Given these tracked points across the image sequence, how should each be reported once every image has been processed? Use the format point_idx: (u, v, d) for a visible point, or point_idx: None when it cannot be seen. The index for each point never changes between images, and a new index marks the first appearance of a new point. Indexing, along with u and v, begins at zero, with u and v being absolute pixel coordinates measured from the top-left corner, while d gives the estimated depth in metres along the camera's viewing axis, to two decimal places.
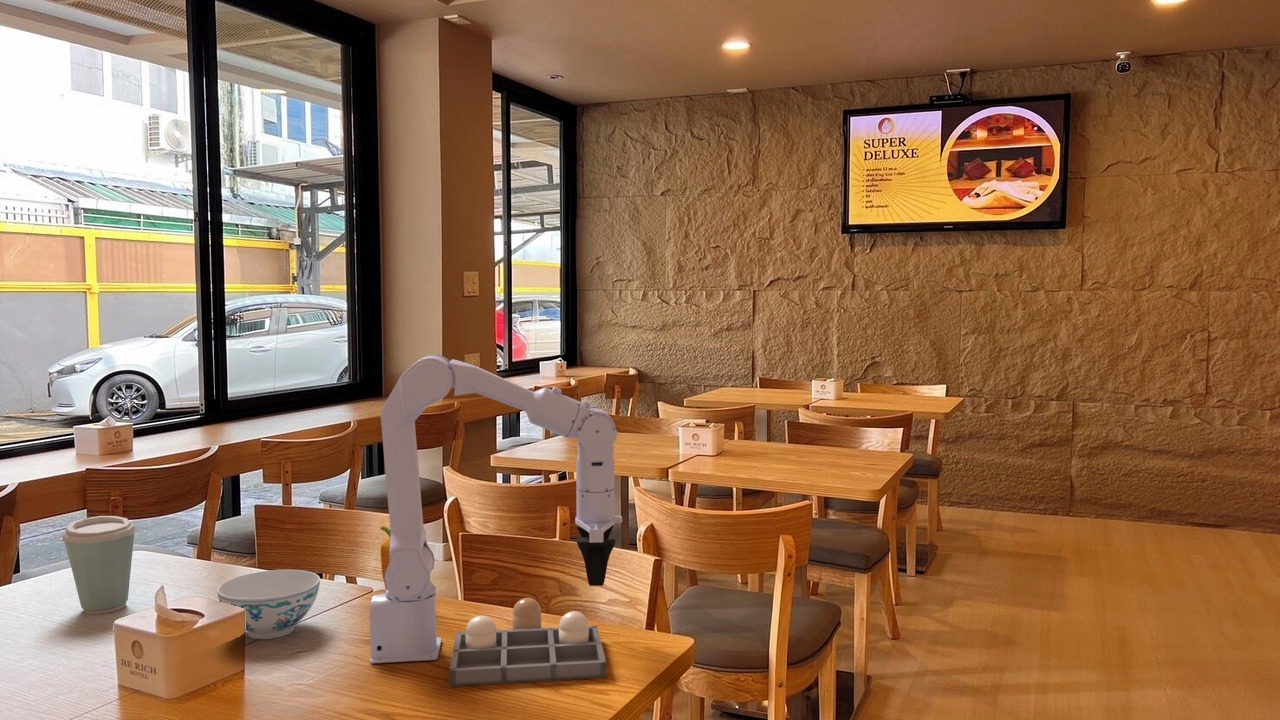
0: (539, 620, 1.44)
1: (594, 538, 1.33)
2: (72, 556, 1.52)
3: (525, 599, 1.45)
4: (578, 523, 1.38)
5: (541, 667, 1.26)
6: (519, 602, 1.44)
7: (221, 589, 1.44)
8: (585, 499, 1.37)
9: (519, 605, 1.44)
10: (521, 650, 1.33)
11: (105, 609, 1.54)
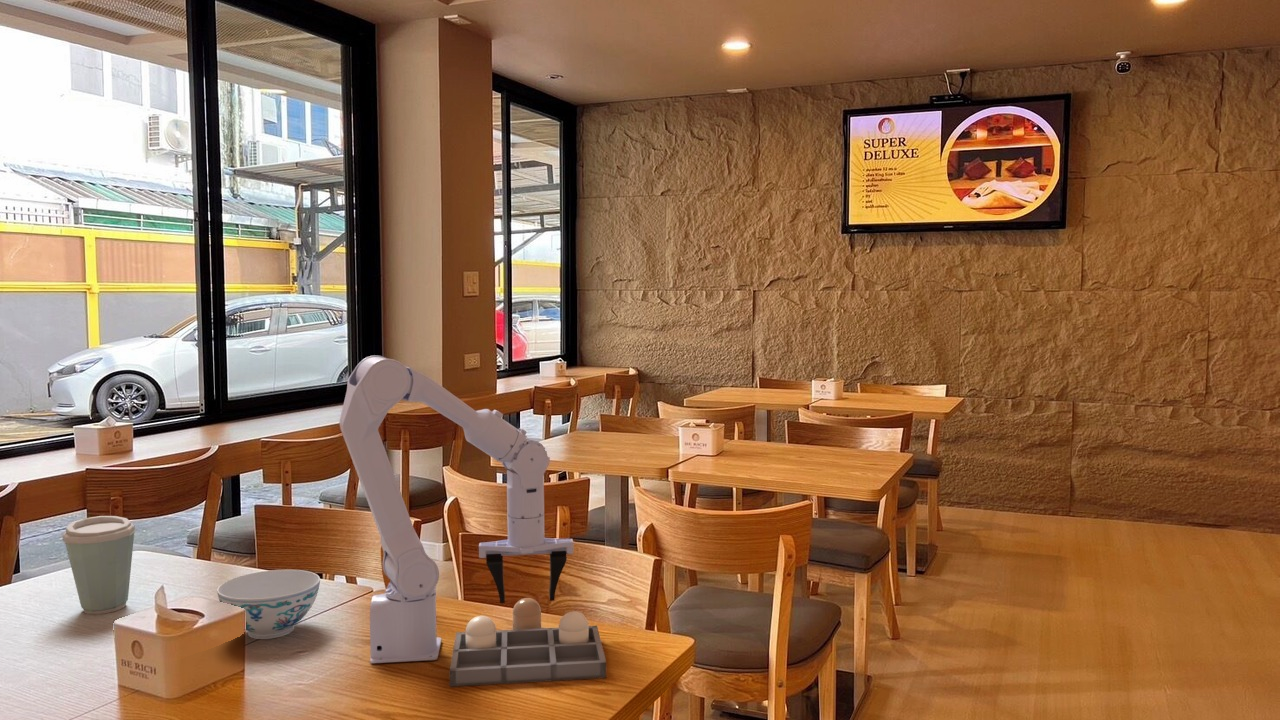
0: (539, 620, 1.44)
1: None
2: (72, 556, 1.52)
3: (525, 599, 1.45)
4: None
5: (541, 667, 1.26)
6: (519, 602, 1.44)
7: (221, 589, 1.44)
8: None
9: (519, 605, 1.44)
10: (521, 650, 1.33)
11: (105, 609, 1.54)
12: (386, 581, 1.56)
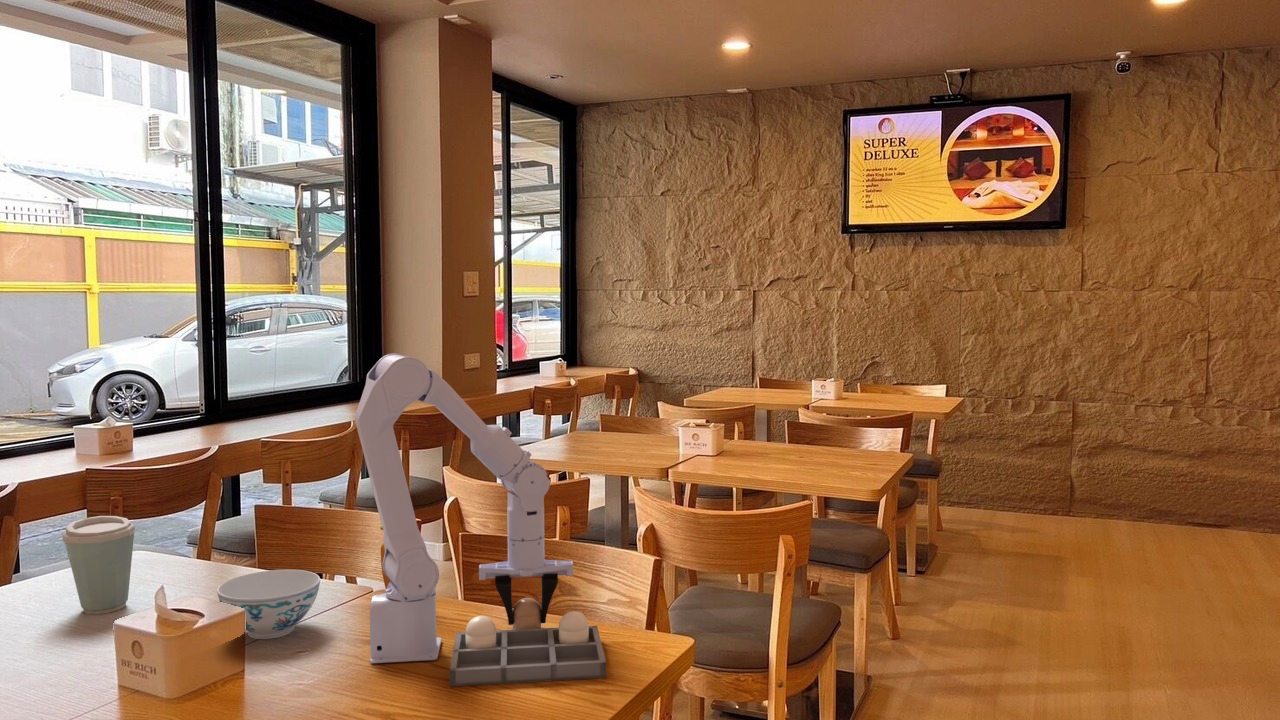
0: (539, 620, 1.44)
1: None
2: (72, 556, 1.52)
3: (525, 599, 1.45)
4: None
5: (541, 667, 1.26)
6: (519, 602, 1.44)
7: (221, 589, 1.44)
8: None
9: (519, 605, 1.44)
10: (521, 650, 1.33)
11: (105, 609, 1.54)
12: (386, 581, 1.56)
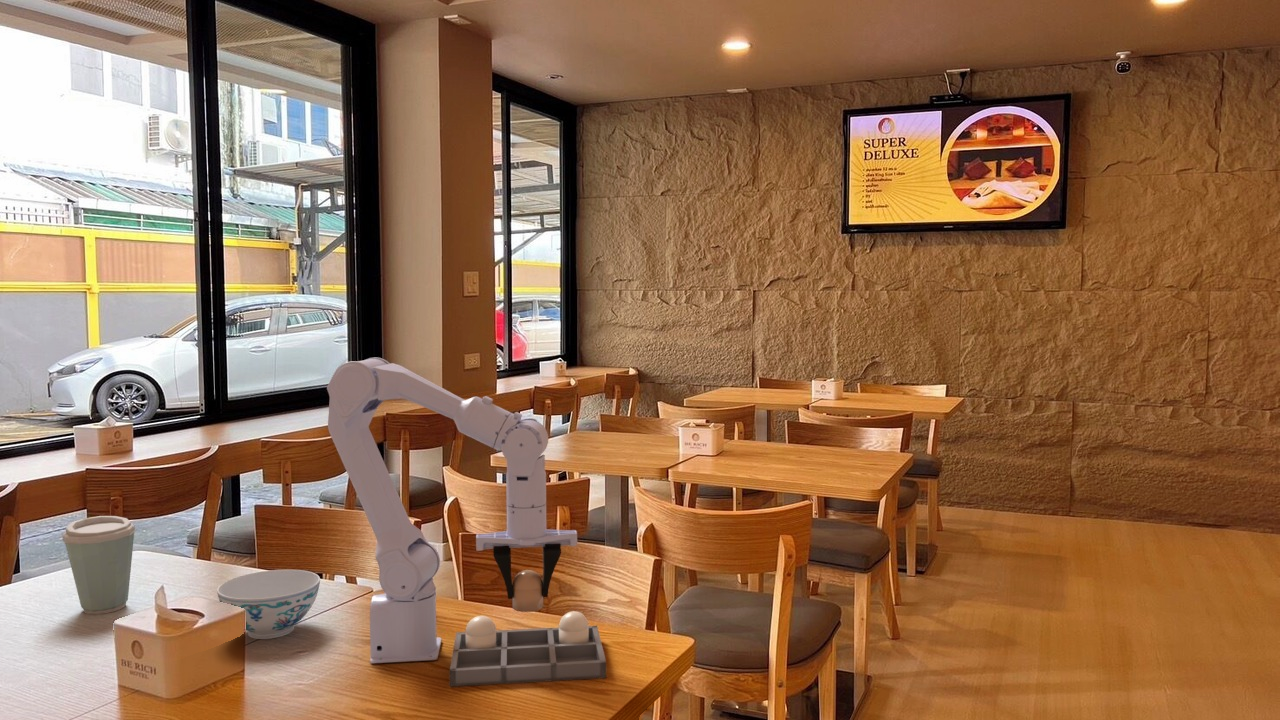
0: (541, 593, 1.34)
1: None
2: (72, 556, 1.52)
3: (526, 571, 1.35)
4: None
5: (541, 667, 1.26)
6: (519, 574, 1.34)
7: (221, 589, 1.44)
8: None
9: (519, 577, 1.34)
10: (521, 650, 1.33)
11: (105, 609, 1.54)
12: None
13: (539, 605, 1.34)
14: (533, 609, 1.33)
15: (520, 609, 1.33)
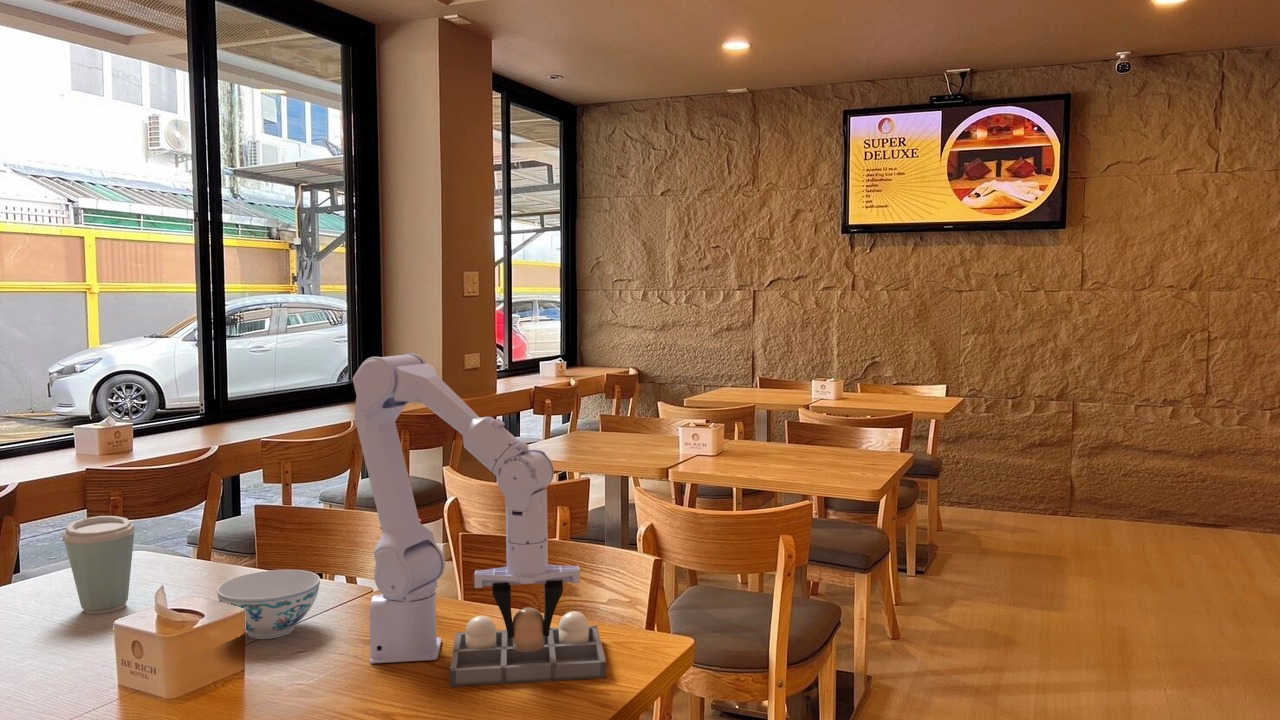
0: (542, 632, 1.29)
1: None
2: (72, 556, 1.52)
3: (526, 609, 1.29)
4: None
5: (541, 667, 1.26)
6: (519, 612, 1.29)
7: (221, 589, 1.44)
8: None
9: (519, 616, 1.28)
10: None
11: (105, 609, 1.54)
12: None
13: (540, 645, 1.29)
14: (534, 649, 1.28)
15: (520, 649, 1.28)
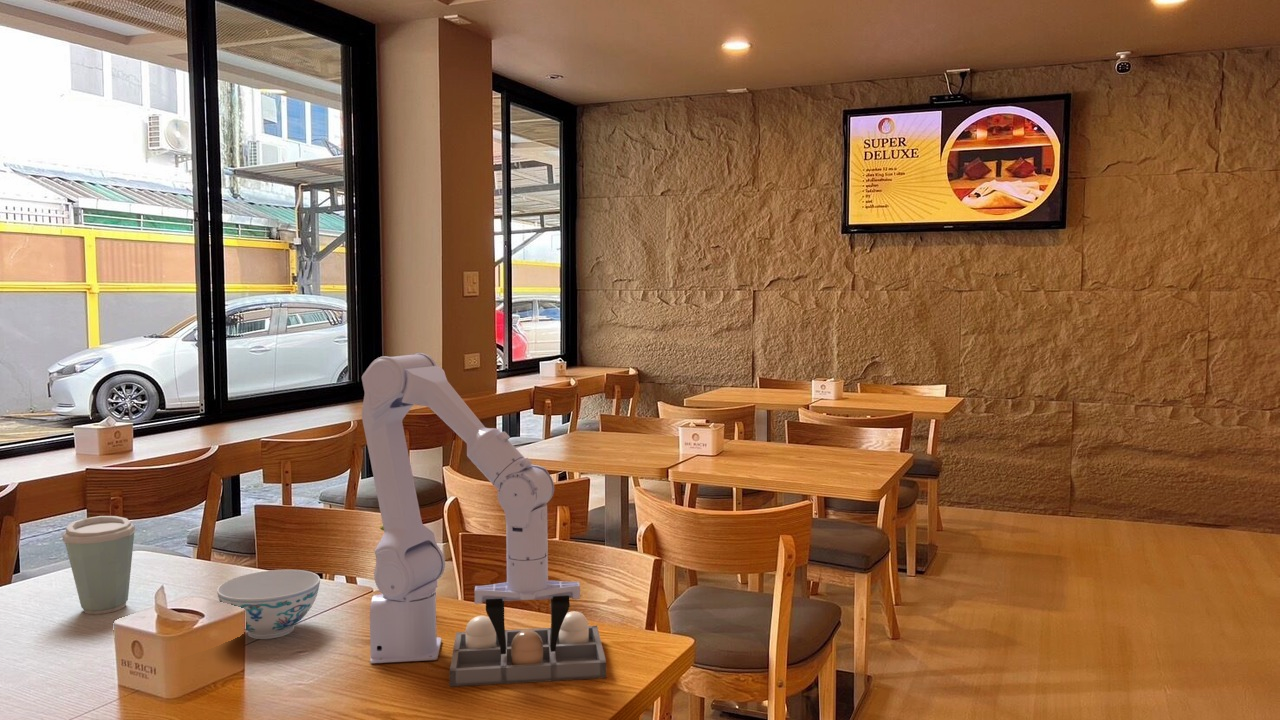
0: (541, 655, 1.29)
1: None
2: (72, 556, 1.52)
3: (525, 631, 1.29)
4: None
5: (541, 667, 1.26)
6: (518, 635, 1.29)
7: (221, 589, 1.44)
8: None
9: (518, 638, 1.29)
10: None
11: (105, 609, 1.54)
12: None
13: None
14: None
15: None
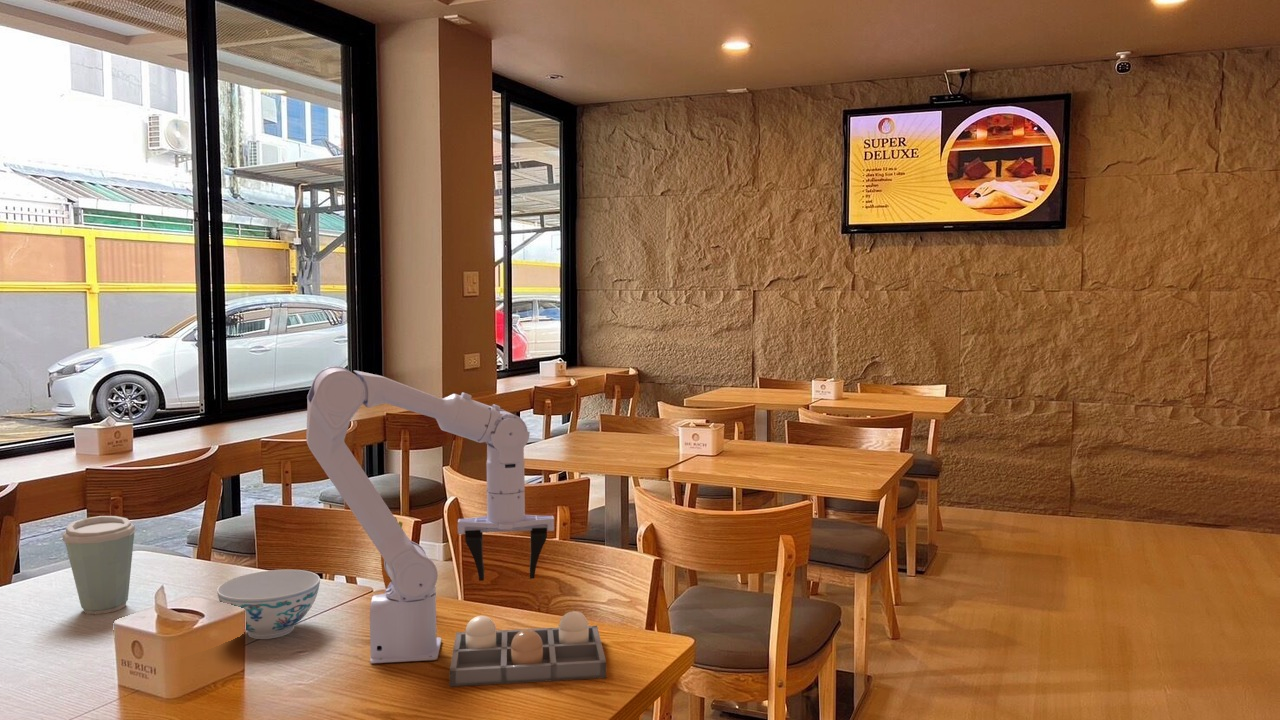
0: (540, 655, 1.29)
1: None
2: (72, 556, 1.52)
3: (525, 631, 1.29)
4: None
5: (541, 667, 1.26)
6: (518, 635, 1.29)
7: (221, 589, 1.44)
8: None
9: (518, 638, 1.28)
10: None
11: (105, 609, 1.54)
12: (386, 581, 1.56)
13: None
14: None
15: None
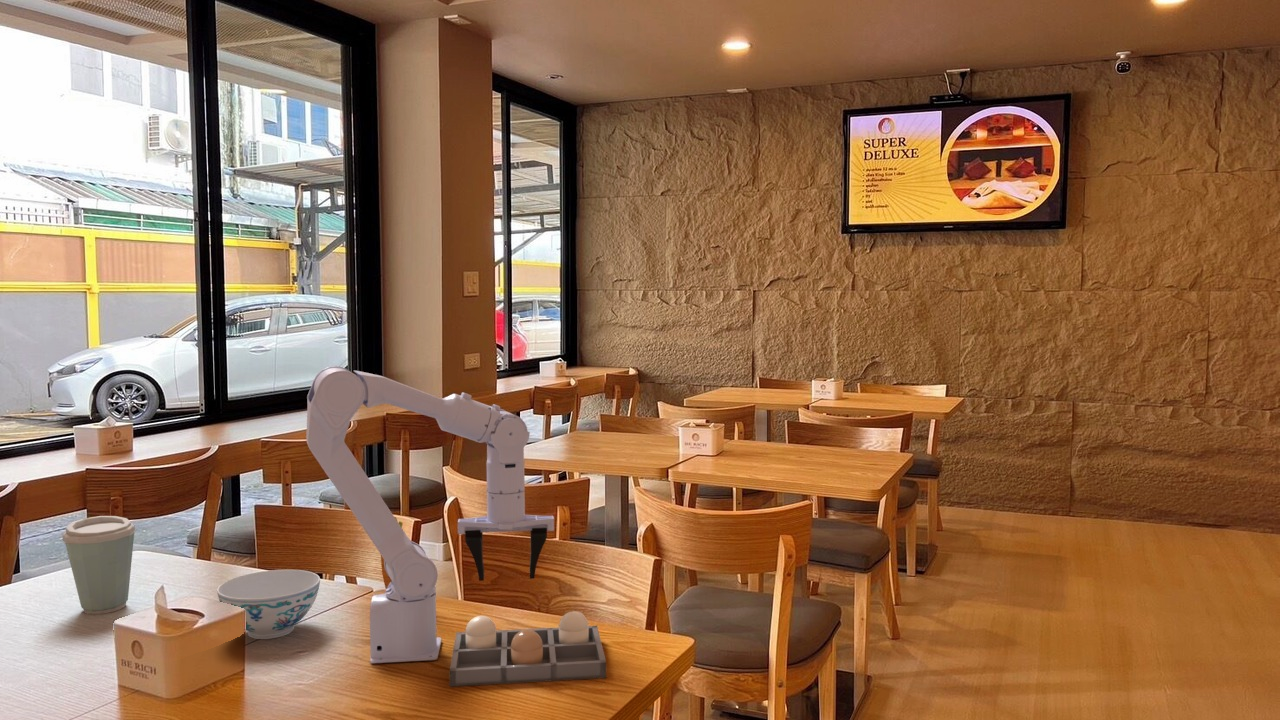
0: (540, 655, 1.29)
1: None
2: (72, 556, 1.52)
3: (524, 631, 1.29)
4: None
5: (541, 667, 1.26)
6: (518, 635, 1.29)
7: (221, 589, 1.44)
8: None
9: (518, 638, 1.29)
10: None
11: (105, 609, 1.54)
12: (386, 581, 1.56)
13: None
14: None
15: None
